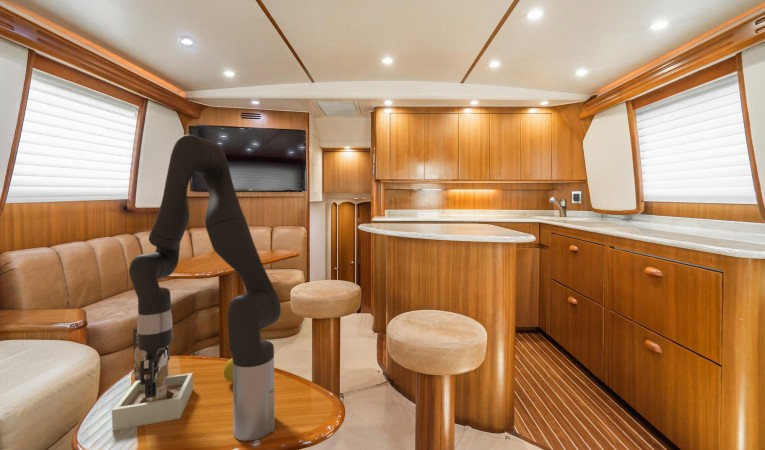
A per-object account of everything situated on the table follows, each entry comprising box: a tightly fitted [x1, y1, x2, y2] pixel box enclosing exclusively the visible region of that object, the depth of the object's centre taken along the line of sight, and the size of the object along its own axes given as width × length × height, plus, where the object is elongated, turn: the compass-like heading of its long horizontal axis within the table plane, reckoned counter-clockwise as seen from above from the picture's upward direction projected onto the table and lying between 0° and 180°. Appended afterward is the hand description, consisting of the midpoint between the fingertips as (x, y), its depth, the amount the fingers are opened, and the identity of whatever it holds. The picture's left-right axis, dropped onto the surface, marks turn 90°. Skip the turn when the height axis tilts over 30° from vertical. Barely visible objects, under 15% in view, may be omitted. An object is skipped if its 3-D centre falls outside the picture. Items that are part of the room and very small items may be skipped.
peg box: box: [111, 372, 194, 431], centre depth 84 cm, size 14×14×5 cm
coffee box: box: [132, 326, 169, 381], centre depth 100 cm, size 9×6×16 cm
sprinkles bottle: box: [147, 356, 167, 402], centre depth 84 cm, size 5×5×13 cm
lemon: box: [223, 357, 233, 384], centre depth 97 cm, size 6×6×8 cm
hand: (156, 388), depth 84 cm, fingers open, 8 cm apart
